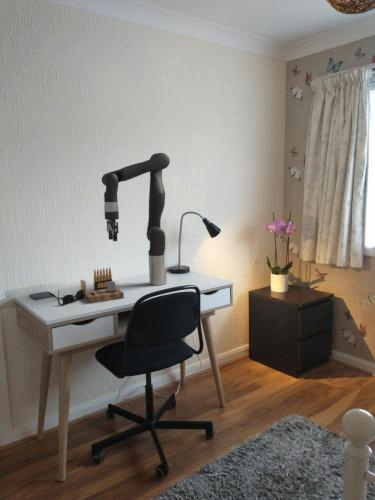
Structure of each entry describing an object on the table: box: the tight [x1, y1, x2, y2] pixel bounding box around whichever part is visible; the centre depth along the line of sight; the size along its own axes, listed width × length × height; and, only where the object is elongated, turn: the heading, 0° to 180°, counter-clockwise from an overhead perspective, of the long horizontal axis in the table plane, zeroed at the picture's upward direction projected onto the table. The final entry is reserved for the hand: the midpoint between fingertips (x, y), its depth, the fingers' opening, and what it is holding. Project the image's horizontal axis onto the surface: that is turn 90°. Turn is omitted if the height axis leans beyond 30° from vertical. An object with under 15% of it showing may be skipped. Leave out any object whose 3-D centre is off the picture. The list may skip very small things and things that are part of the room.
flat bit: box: [80, 279, 87, 292], centre depth 216 cm, size 2×4×8 cm, turn 30°
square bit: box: [106, 280, 116, 293], centre depth 212 cm, size 4×4×8 cm
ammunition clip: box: [93, 267, 113, 291], centre depth 229 cm, size 11×2×12 cm, turn 122°
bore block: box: [83, 287, 125, 304], centre depth 210 cm, size 18×12×3 cm, turn 117°
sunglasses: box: [49, 289, 84, 307], centre depth 208 cm, size 17×14×5 cm
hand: (113, 240), depth 221 cm, fingers open, 8 cm apart
